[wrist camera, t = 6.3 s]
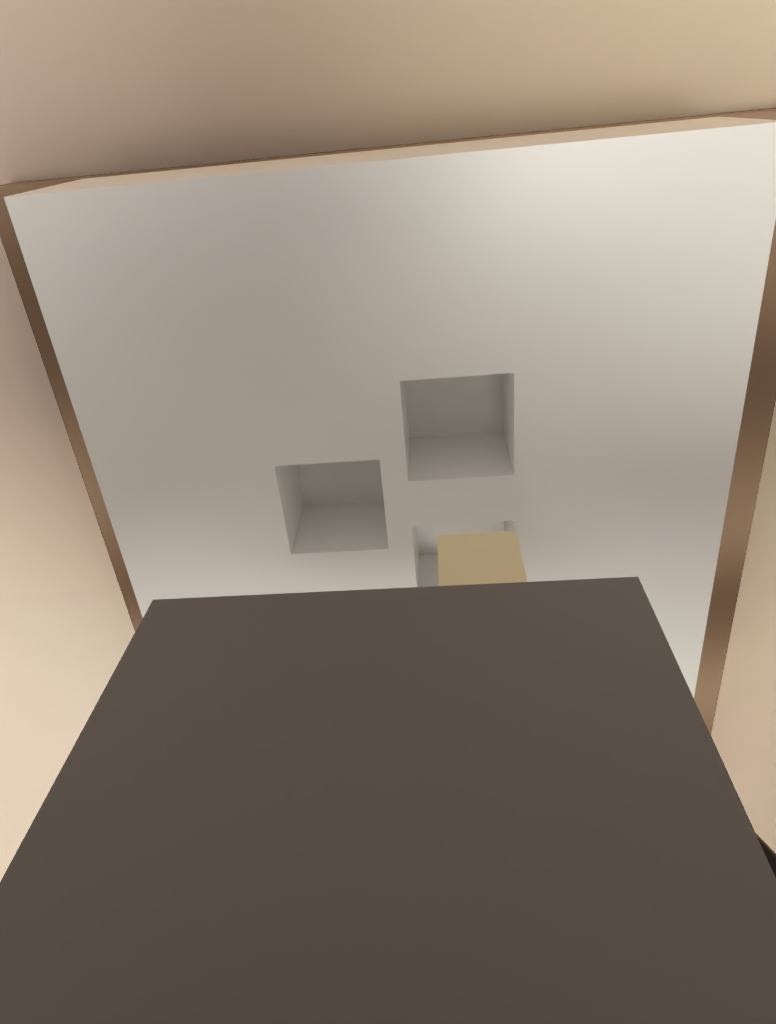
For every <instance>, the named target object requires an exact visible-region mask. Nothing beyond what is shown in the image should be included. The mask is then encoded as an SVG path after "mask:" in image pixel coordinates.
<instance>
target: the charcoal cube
mask: <svg viewBox="0 0 776 1024" xmlns="http://www.w3.org/2000/svg"><path fill="white" fill-rule="evenodd" d="M437 549H438V577H439V586H430V587H409V588H388V589H367V590H346V591H325V592H304V593H283V594H262V595H240V596H219V597H198V598H177V599H156V600H153V601H152V602H151V604H150V606H149V608H148V610H147V612H146V614H145V615H144V617H143V619H142V621H141V623H140V625H139V627H138V628H137V630H136V632H135V634H134V636H133V638H132V639H131V641H130V643H129V645H128V647H127V649H126V651H125V652H124V654H123V656H122V658H121V660H120V662H119V664H118V665H117V667H116V669H115V671H114V673H113V675H112V676H111V678H110V680H109V682H108V684H107V686H106V688H105V689H104V691H103V693H102V695H101V697H100V699H99V701H98V702H97V704H96V706H95V708H94V710H93V712H92V714H91V715H90V717H89V719H88V721H87V723H86V725H85V726H84V728H83V730H82V732H81V734H80V736H79V738H78V739H77V741H76V743H75V745H74V747H73V749H72V751H71V752H70V754H69V756H68V758H67V760H66V762H65V763H64V765H63V767H62V769H61V771H60V773H59V775H58V776H57V778H56V780H55V782H54V784H53V786H52V788H51V789H50V791H49V793H48V795H47V797H46V799H45V801H44V802H43V804H42V806H41V808H40V810H39V812H38V813H37V815H36V817H35V819H34V821H33V823H32V825H31V826H30V828H29V830H28V832H27V834H26V836H25V838H24V839H23V841H22V843H21V845H20V847H19V849H18V850H17V852H16V854H15V856H14V858H13V860H12V862H11V863H10V865H9V867H8V869H7V871H6V873H5V875H4V876H3V878H2V880H1V882H0V1024H776V877H775V875H774V873H773V871H772V869H771V867H770V864H769V862H768V860H767V858H766V856H765V853H764V851H763V849H762V847H761V845H760V842H759V840H758V838H757V836H756V834H755V831H754V829H753V827H752V825H751V823H750V821H749V818H748V816H747V814H746V812H745V810H744V807H743V805H742V803H741V801H740V799H739V796H738V794H737V792H736V790H735V788H734V786H733V783H732V781H731V779H730V777H729V775H728V772H727V770H726V768H725V766H724V764H723V761H722V759H721V757H720V755H719V753H718V750H717V748H716V746H715V744H714V742H713V740H712V737H711V735H710V733H709V731H708V729H707V726H706V724H705V722H704V720H703V718H702V715H701V713H700V711H699V709H698V707H697V705H696V702H695V700H694V698H693V696H692V694H691V691H690V689H689V687H688V685H687V683H686V680H685V678H684V676H683V674H682V672H681V669H680V667H679V665H678V663H677V661H676V659H675V656H674V654H673V652H672V650H671V648H670V645H669V643H668V641H667V639H666V637H665V634H664V632H663V630H662V628H661V626H660V624H659V621H658V619H657V617H656V615H655V613H654V610H653V608H652V606H651V604H650V602H649V599H648V597H647V595H646V593H645V591H644V589H643V586H642V584H641V582H640V580H639V578H638V577H620V578H599V579H578V580H557V581H536V582H527V577H526V573H525V568H524V564H523V559H522V555H521V550H520V546H519V541H518V537H517V532H516V531H499V532H480V533H461V534H443V535H437Z"/></svg>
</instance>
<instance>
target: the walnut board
mask: <svg viewBox="0 0 776 1024" xmlns="http://www.w3.org/2000/svg"><path fill="white" fill-rule="evenodd" d="M709 117H733V118H752V119H770V120H776V108H771V109H761V110H751V111H741V112H731V113H720V114H710V115H700V116H690V117H680V118H670V119H659V120H649V121H639V122H629V123H619V124H608V125H598V126H588V127H578V128H568V129H558V130H547V131H537V132H527V133H517V134H507V135H497V136H486V137H476V138H466V139H456V140H446V141H436V142H425V143H415V144H405V145H395V146H385V147H375V148H364V149H354V150H344V151H334V152H324V153H313V154H303V155H293V156H283V157H273V158H263V159H252V160H242V161H232V162H222V163H212V164H202V165H191V166H181V167H171V168H161V169H151V170H141V171H130V172H120V173H110V174H100V175H90V176H79V177H69V178H59V179H49V180H39V181H29V182H18V183H9V184H4V185H0V236H1V239H2V242H3V245H4V248H5V251H6V254H7V257H8V260H9V263H10V266H11V269H12V272H13V275H14V278H15V280H16V283H17V286H18V289H19V292H20V295H21V298H22V301H23V304H24V307H25V310H26V313H27V316H28V319H29V322H30V324H31V327H32V330H33V333H34V336H35V339H36V342H37V345H38V348H39V351H40V354H41V357H42V360H43V363H44V366H45V368H46V371H47V374H48V377H49V380H50V383H51V386H52V389H53V392H54V395H55V398H56V401H57V404H58V407H59V410H60V412H61V415H62V418H63V421H64V424H65V427H66V430H67V433H68V436H69V439H70V442H71V445H72V448H73V451H74V453H75V456H76V459H77V462H78V465H79V468H80V471H81V474H82V477H83V480H84V483H85V486H86V489H87V492H88V495H89V497H90V500H91V503H92V506H93V509H94V512H95V515H96V518H97V521H98V524H99V527H100V530H101V533H102V536H103V539H104V541H105V544H106V547H107V550H108V553H109V556H110V559H111V562H112V565H113V568H114V571H115V574H116V577H117V580H118V583H119V585H120V588H121V591H122V594H123V597H124V600H125V603H126V606H127V609H128V612H129V615H130V618H131V621H132V624H133V627H134V629H135V632H136V630H137V628H138V627H139V625H140V623H141V621H142V619H143V617H142V614H141V611H140V608H139V605H138V602H137V599H136V596H135V593H134V590H133V587H132V584H131V581H130V578H129V575H128V572H127V569H126V566H125V563H124V560H123V557H122V554H121V551H120V548H119V545H118V542H117V539H116V536H115V533H114V530H113V527H112V524H111V521H110V518H109V515H108V511H107V508H106V505H105V502H104V499H103V496H102V493H101V490H100V487H99V484H98V481H97V478H96V475H95V472H94V469H93V466H92V463H91V460H90V457H89V454H88V451H87V448H86V445H85V442H84V439H83V436H82V433H81V430H80V427H79V424H78V421H77V418H76V415H75V412H74V409H73V406H72V402H71V399H70V396H69V393H68V390H67V387H66V384H65V381H64V378H63V375H62V372H61V369H60V366H59V363H58V360H57V357H56V354H55V351H54V348H53V345H52V342H51V339H50V336H49V333H48V330H47V327H46V324H45V321H44V318H43V315H42V312H41V309H40V306H39V303H38V300H37V297H36V293H35V290H34V287H33V284H32V281H31V278H30V275H29V272H28V269H27V266H26V263H25V260H24V257H23V254H22V251H21V248H20V245H19V242H18V239H17V236H16V233H15V230H14V227H13V224H12V221H11V218H10V215H9V212H8V209H7V206H6V203H5V200H4V197H6V196H10V195H15V194H19V193H23V192H28V191H32V190H36V189H41V188H45V187H49V186H53V185H58V184H62V183H66V182H71V181H75V180H79V179H86V178H96V177H107V176H117V175H127V174H137V173H147V172H158V171H168V170H178V169H188V168H198V167H209V166H219V165H229V164H239V163H250V162H260V161H270V160H280V159H290V158H301V157H311V156H321V155H331V154H341V153H352V152H362V151H372V150H382V149H392V148H403V147H413V146H423V145H433V144H443V143H454V142H464V141H474V140H484V139H494V138H505V137H515V136H525V135H535V134H545V133H556V132H566V131H576V130H586V129H596V128H607V127H617V126H627V125H637V124H648V123H658V122H668V121H678V120H688V119H699V118H709ZM775 400H776V220H775V226H774V232H773V238H772V244H771V249H770V255H769V261H768V267H767V273H766V279H765V285H764V290H763V296H762V302H761V308H760V314H759V320H758V326H757V331H756V337H755V343H754V349H753V355H752V361H751V367H750V372H749V378H748V384H747V390H746V396H745V402H744V408H743V413H742V419H741V425H740V431H739V437H738V443H737V449H736V454H735V460H734V466H733V472H732V478H731V484H730V490H729V495H728V501H727V507H726V513H725V519H724V525H723V531H722V536H721V542H720V548H719V554H718V560H717V566H716V572H715V577H714V583H713V589H712V595H711V601H710V607H709V612H708V618H707V624H706V630H705V636H704V642H703V648H702V653H701V659H700V665H699V671H698V677H697V683H696V689H695V694H694V700H695V702H696V705H697V707H698V709H699V711H700V713H701V715H702V718H703V720H704V722H705V724H706V726H707V729H708V731H709V733H710V735H711V731H712V725H713V720H714V715H715V710H716V705H717V700H718V694H719V689H720V684H721V679H722V674H723V669H724V663H725V658H726V653H727V648H728V643H729V638H730V632H731V627H732V622H733V617H734V612H735V607H736V601H737V596H738V591H739V586H740V581H741V576H742V570H743V565H744V560H745V555H746V550H747V545H748V539H749V534H750V529H751V524H752V519H753V514H754V509H755V503H756V498H757V493H758V488H759V483H760V478H761V472H762V467H763V462H764V457H765V452H766V447H767V441H768V436H769V431H770V426H771V421H772V416H773V410H774V405H775Z"/></svg>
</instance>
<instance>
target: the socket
mask: <svg viewBox="0 0 776 1024" xmlns="http://www.w3.org/2000/svg"><path fill="white" fill-rule="evenodd" d="M4 200H5V203H6V206H7V209H8V212H9V215H10V218H11V221H12V224H13V227H14V230H15V233H16V236H17V239H18V242H19V245H20V248H21V251H22V254H23V257H24V260H25V263H26V266H27V269H28V272H29V275H30V278H31V281H32V284H33V287H34V290H35V293H36V297H37V300H38V303H39V306H40V309H41V312H42V315H43V318H44V321H45V324H46V327H47V330H48V333H49V336H50V339H51V342H52V345H53V348H54V351H55V354H56V357H57V360H58V363H59V366H60V369H61V372H62V375H63V378H64V381H65V384H66V387H67V390H68V393H69V396H70V399H71V402H72V406H73V409H74V412H75V415H76V418H77V421H78V424H79V427H80V430H81V433H82V436H83V439H84V442H85V445H86V448H87V451H88V454H89V457H90V460H91V463H92V466H93V469H94V472H95V475H96V478H97V481H98V484H99V487H100V490H101V493H102V496H103V499H104V502H105V505H106V508H107V511H108V515H109V518H110V521H111V524H112V527H113V530H114V533H115V536H116V539H117V542H118V545H119V548H120V551H121V554H122V557H123V560H124V563H125V566H126V569H127V572H128V575H129V578H130V581H131V584H132V587H133V590H134V593H135V596H136V599H137V602H138V605H139V608H140V611H141V614H142V617H144V615H145V614H146V612H147V610H148V608H149V606H150V604H151V602H152V601H153V600H156V599H177V598H198V597H219V596H240V595H262V594H283V593H304V592H325V591H346V590H367V589H388V588H409V587H430V586H439V577H438V549H437V535H443V534H461V533H480V532H499V531H516V532H517V537H518V541H519V546H520V550H521V555H522V559H523V564H524V568H525V573H526V577H527V582H536V581H557V580H578V579H599V578H620V577H638V578H639V580H640V582H641V584H642V586H643V589H644V591H645V593H646V595H647V597H648V599H649V602H650V604H651V606H652V608H653V610H654V613H655V615H656V617H657V619H658V621H659V624H660V626H661V628H662V630H663V632H664V634H665V637H666V639H667V641H668V643H669V645H670V648H671V650H672V652H673V654H674V656H675V659H676V661H677V663H678V665H679V667H680V669H681V672H682V674H683V676H684V678H685V680H686V683H687V685H688V687H689V689H690V691H691V694H692V696H693V698H694V694H695V689H696V683H697V677H698V671H699V665H700V659H701V653H702V648H703V642H704V636H705V630H706V624H707V618H708V612H709V607H710V601H711V595H712V589H713V583H714V577H715V572H716V566H717V560H718V554H719V548H720V542H721V536H722V531H723V525H724V519H725V513H726V507H727V501H728V495H729V490H730V484H731V478H732V472H733V466H734V460H735V454H736V449H737V443H738V437H739V431H740V425H741V419H742V413H743V408H744V402H745V396H746V390H747V384H748V378H749V372H750V367H751V361H752V355H753V349H754V343H755V337H756V331H757V326H758V320H759V314H760V308H761V302H762V296H763V290H764V285H765V279H766V273H767V267H768V261H769V255H770V249H771V244H772V238H773V232H774V226H775V220H776V120H770V119H752V118H733V117H709V118H699V119H688V120H678V121H668V122H658V123H648V124H637V125H627V126H617V127H607V128H596V129H586V130H576V131H566V132H556V133H545V134H535V135H525V136H515V137H505V138H494V139H484V140H474V141H464V142H454V143H443V144H433V145H423V146H413V147H403V148H392V149H382V150H372V151H362V152H352V153H341V154H331V155H321V156H311V157H301V158H290V159H280V160H270V161H260V162H250V163H239V164H229V165H219V166H209V167H198V168H188V169H178V170H168V171H158V172H147V173H137V174H127V175H117V176H107V177H96V178H86V179H79V180H75V181H71V182H66V183H62V184H58V185H53V186H49V187H45V188H41V189H36V190H32V191H28V192H23V193H19V194H15V195H10V196H6V197H4Z"/></svg>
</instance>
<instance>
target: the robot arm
mask: <svg viewBox="0 0 776 1024" xmlns="http://www.w3.org/2000/svg"><path fill="white" fill-rule="evenodd" d="M755 834H756V833H755ZM756 836H757V838H758V840H759V842H760V845H761V847H762V849H763V851H764V853H765V856H766V858H767V860H768V862H769V864H770V867H771V869H772V871H773V873H774V875H775V877H776V853H775V852H774V851H773V850H772V849H771V848H770V847H769V846H768V845H767V844H766V843H765V842H764V841H763V840H762V839H761V838H760V837H759V836H758V835H757V834H756Z"/></svg>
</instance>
